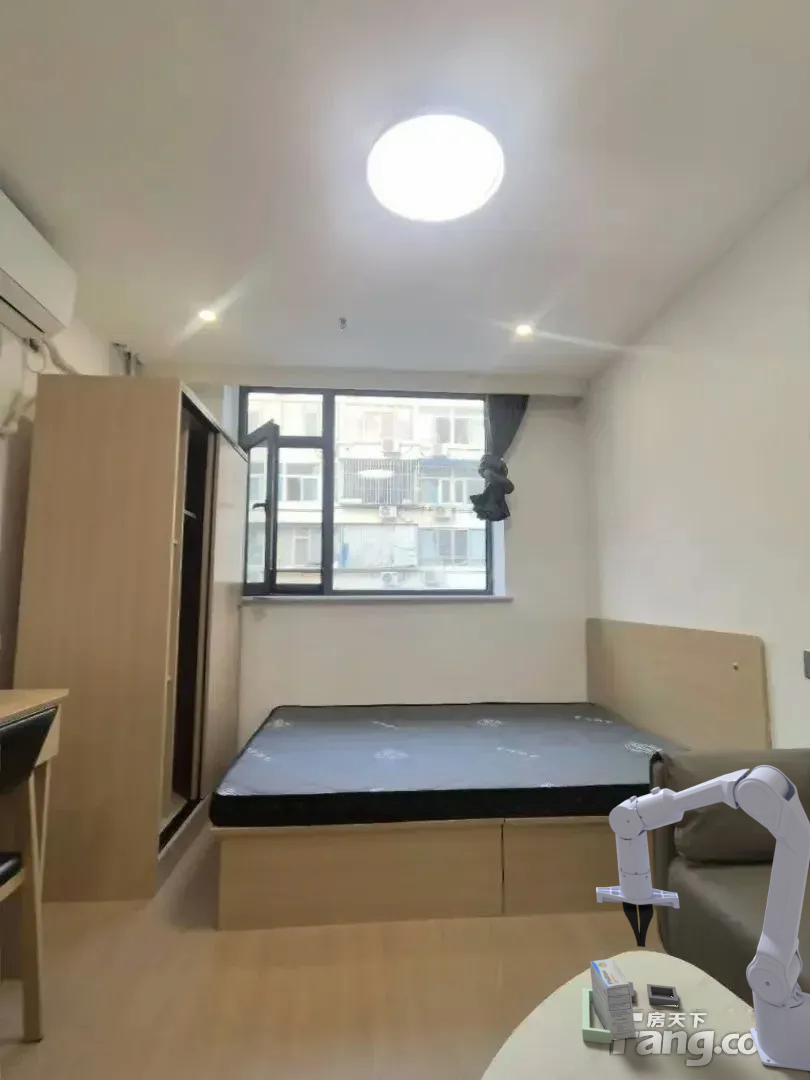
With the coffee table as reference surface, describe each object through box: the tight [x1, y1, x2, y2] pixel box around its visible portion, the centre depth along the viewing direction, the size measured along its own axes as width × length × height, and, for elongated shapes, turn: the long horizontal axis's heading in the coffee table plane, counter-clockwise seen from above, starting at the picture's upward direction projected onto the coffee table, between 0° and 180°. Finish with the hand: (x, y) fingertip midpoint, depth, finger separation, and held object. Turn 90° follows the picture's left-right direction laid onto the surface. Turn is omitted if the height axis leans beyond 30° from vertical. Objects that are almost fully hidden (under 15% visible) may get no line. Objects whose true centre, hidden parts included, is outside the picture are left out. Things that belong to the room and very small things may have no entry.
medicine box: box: [589, 958, 636, 1041], centre depth 108 cm, size 8×4×9 cm, turn 4°
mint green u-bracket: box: [581, 987, 612, 1045], centre depth 109 cm, size 5×11×2 cm, turn 164°
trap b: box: [628, 981, 636, 1004], centre depth 116 cm, size 5×4×1 cm
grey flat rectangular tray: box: [646, 983, 680, 1006], centre depth 114 cm, size 5×4×1 cm
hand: (640, 943), depth 115 cm, fingers closed
